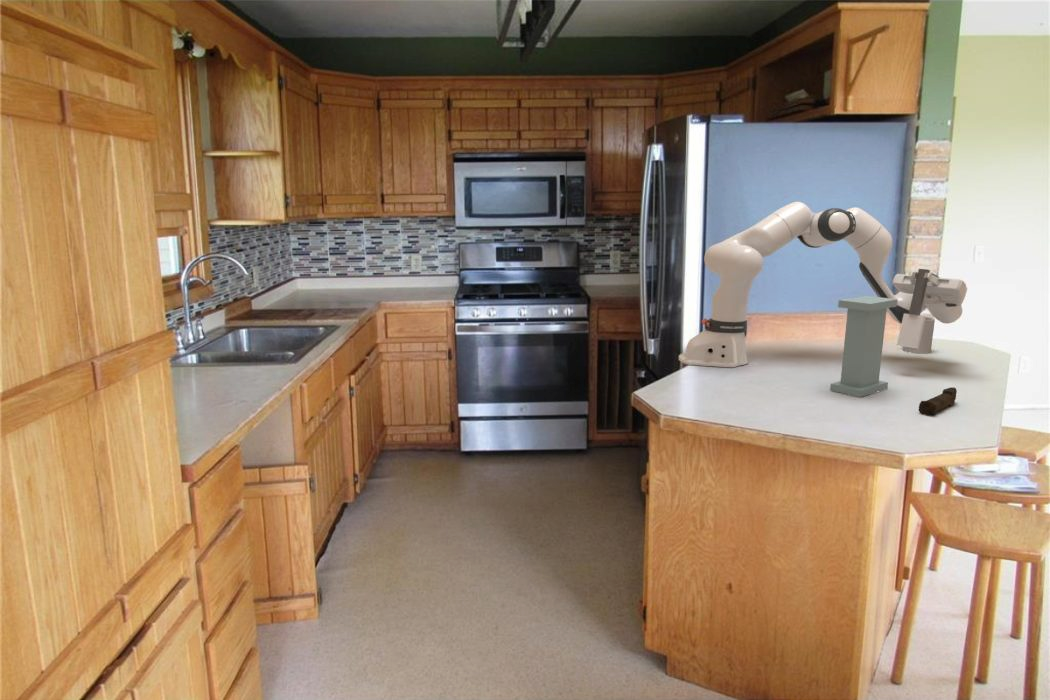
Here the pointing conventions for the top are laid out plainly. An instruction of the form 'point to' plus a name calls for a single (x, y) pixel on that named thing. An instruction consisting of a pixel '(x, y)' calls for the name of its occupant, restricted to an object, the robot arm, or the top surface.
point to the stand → (863, 345)
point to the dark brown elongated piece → (938, 402)
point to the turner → (914, 315)
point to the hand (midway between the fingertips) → (920, 274)
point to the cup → (924, 338)
